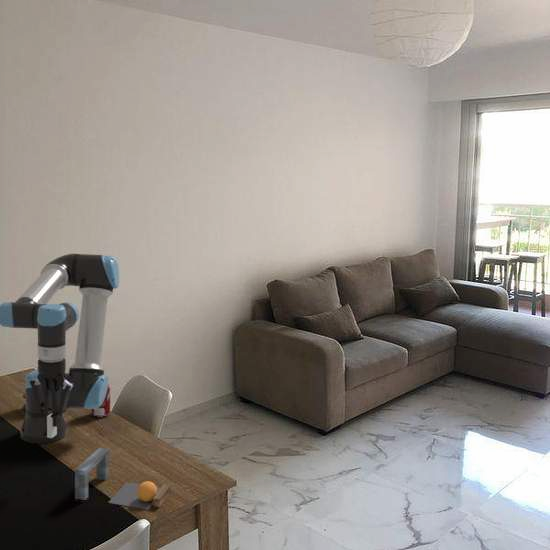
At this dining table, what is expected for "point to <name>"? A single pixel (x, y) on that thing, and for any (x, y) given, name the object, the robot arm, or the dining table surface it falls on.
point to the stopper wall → (161, 496)
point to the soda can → (103, 406)
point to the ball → (147, 491)
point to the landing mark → (131, 497)
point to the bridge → (82, 472)
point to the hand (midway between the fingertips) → (52, 435)
